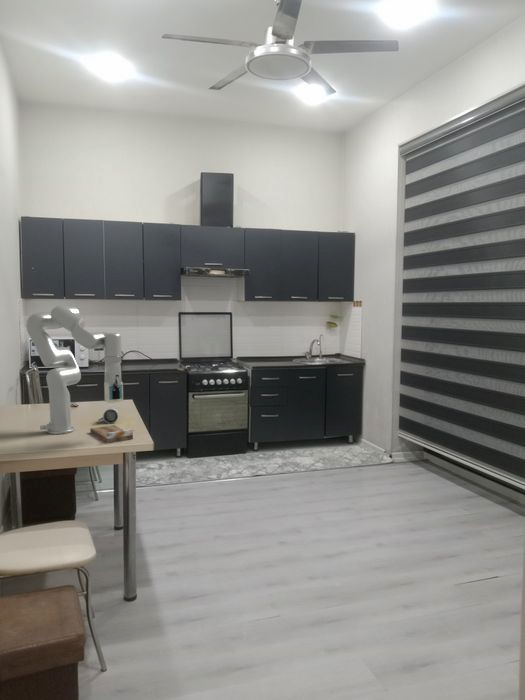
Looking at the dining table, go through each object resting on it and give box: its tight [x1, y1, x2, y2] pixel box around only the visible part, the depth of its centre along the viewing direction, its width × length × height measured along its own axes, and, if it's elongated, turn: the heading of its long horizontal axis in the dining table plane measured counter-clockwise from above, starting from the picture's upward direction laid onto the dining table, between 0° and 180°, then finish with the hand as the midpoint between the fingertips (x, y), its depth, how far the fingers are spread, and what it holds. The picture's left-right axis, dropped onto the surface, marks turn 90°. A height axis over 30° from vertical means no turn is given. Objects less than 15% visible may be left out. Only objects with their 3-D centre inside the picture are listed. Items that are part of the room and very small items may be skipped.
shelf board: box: [90, 424, 134, 444], centre depth 245 cm, size 12×24×4 cm, turn 36°
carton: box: [103, 381, 124, 404], centre depth 239 cm, size 5×7×9 cm
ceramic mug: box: [97, 407, 120, 424], centre depth 273 cm, size 11×8×8 cm
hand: (113, 397), depth 239 cm, fingers closed on carton, 5 cm apart
